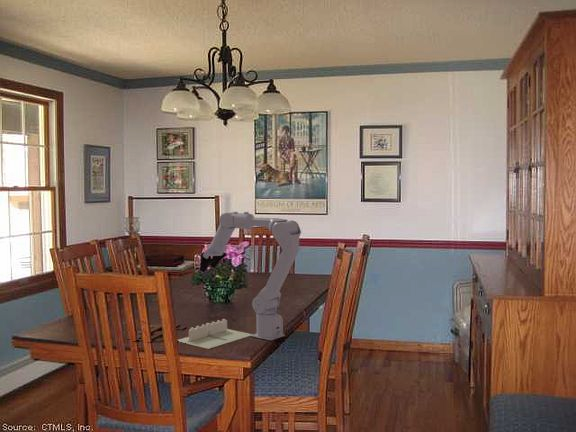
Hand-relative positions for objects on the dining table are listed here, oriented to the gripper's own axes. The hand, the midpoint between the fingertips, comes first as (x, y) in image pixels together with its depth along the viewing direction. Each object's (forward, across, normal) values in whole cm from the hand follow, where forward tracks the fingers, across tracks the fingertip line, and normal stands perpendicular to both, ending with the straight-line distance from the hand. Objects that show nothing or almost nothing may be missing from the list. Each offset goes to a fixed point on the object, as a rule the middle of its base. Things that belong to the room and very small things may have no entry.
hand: (207, 268), depth 226 cm
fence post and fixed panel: (+15, +18, +16) cm, 29 cm away
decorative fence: (+26, +18, 0) cm, 32 cm away
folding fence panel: (+14, +9, +19) cm, 25 cm away
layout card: (+13, +15, +21) cm, 29 cm away
